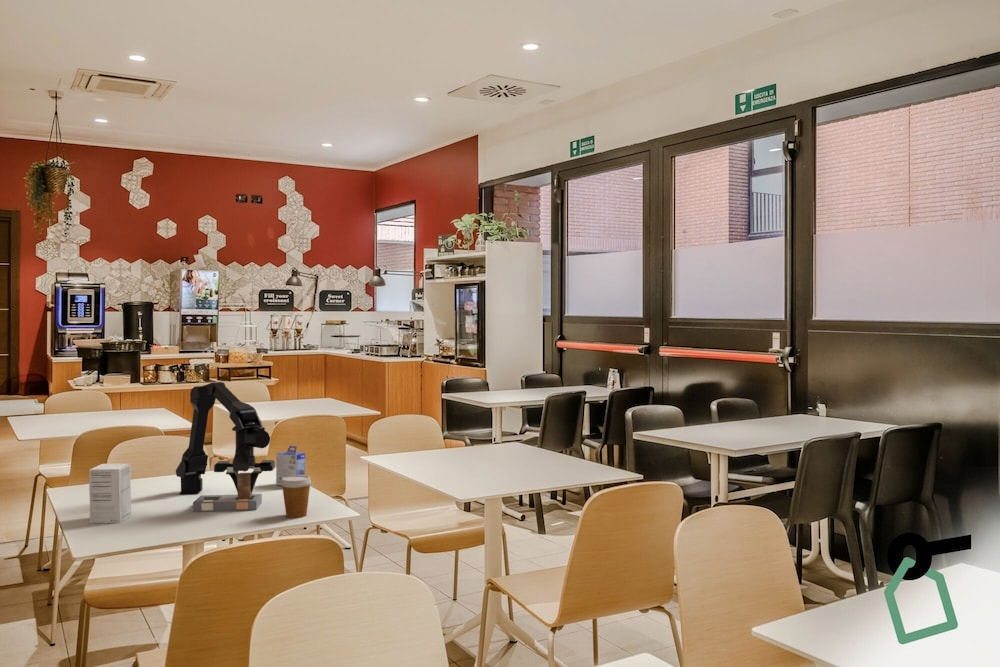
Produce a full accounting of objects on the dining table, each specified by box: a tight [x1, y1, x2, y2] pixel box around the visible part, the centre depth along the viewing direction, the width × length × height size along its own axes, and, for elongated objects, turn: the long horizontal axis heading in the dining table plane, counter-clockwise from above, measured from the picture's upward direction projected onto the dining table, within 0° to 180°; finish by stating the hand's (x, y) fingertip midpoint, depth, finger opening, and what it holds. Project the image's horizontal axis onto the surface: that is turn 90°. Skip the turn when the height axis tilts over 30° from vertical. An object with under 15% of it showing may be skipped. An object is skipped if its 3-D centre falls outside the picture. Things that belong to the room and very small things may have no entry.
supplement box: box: [88, 463, 132, 524], centre depth 253 cm, size 10×9×17 cm
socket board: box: [192, 493, 263, 512], centre depth 269 cm, size 20×10×3 cm, turn 97°
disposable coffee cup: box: [281, 475, 312, 519], centre depth 257 cm, size 10×10×12 cm
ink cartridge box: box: [275, 445, 306, 487], centre depth 302 cm, size 10×6×14 cm, turn 66°
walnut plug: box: [237, 472, 253, 499], centre depth 269 cm, size 4×4×8 cm
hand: (245, 491), depth 269 cm, fingers closed on walnut plug, 4 cm apart
